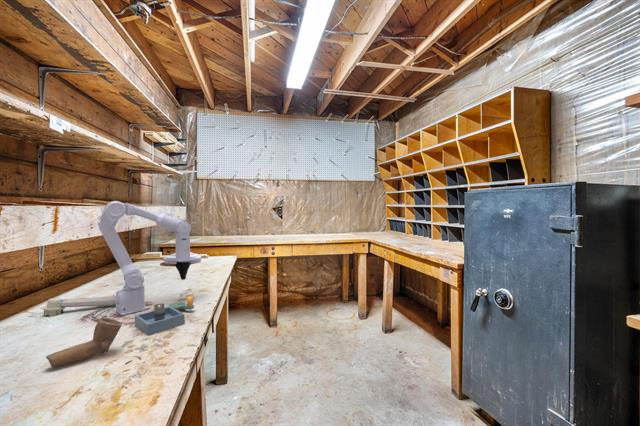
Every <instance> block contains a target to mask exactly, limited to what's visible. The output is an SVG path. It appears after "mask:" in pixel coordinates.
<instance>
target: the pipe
mask: <svg viewBox="0 0 640 426" xmlns="http://www.w3.org/2000/svg"><path fill="white" fill-rule="evenodd" d="M122 325H123V322H122V321H119V320H117V319H115V318H114V319H113V318H110V317H101V318H98V319H97V323H96V325H95V327H94V331H93V337H92V340H89V341H85V342H82V343H79V344H76V345H73V346H70V347H67V348H64V349H61V350H58V351H56V352H53V353H51V354H48V355H46V356H45V358H46V360H48V363H49V365H50V367H51V368H56V367H59V366H63V365H65V364H66V365H67V364H69V363H73V362H76V361H80V360H83V359H87V358H91V357H95V356H97V355H98V356H99V355H103V354H107V353H108V352H109V350H110V347H111V346H112V344H113V343H114V341H115V339H116V337H117V335H118V333H119V332H120V329H121V327H122Z"/></svg>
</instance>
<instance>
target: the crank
mask: <svg viewBox="0 0 640 426" xmlns="http://www.w3.org/2000/svg"><path fill="white" fill-rule="evenodd" d="M193 298H194V297H193V295H190V296H187V298H186V300H187V301H186V302H185V301H176V302H175V301H174V302H171V303H169V305H168V307H169V306H171V307H173V308H174V309H176V310H179V309H184V310H188V311H191V310H193V309H195V305H194V299H193Z"/></svg>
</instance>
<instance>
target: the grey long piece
mask: <svg viewBox="0 0 640 426" xmlns="http://www.w3.org/2000/svg"><path fill="white" fill-rule="evenodd" d="M46 303H47V304H46V306H44V307H43V308H42V310H43V316H49V317H55V316H56V315H57V316H58V315H59V316H60V315H61V314H63V313H64V310H65V309H66V308H85V307H116V295H114V294H113V295H108V296H98V297H97V296H95V297H79V298H77V297H76V298H64V299H63V298H60V297H55V298H49V299H48V300H47V302H46Z"/></svg>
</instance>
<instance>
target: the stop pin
mask: <svg viewBox="0 0 640 426" xmlns="http://www.w3.org/2000/svg"><path fill="white" fill-rule="evenodd" d="M153 307H154V309H153V311H154V319H155V322H156V321H159V320H163V319H165V307H166V306H165V303H156V304H154V305H153Z"/></svg>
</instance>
